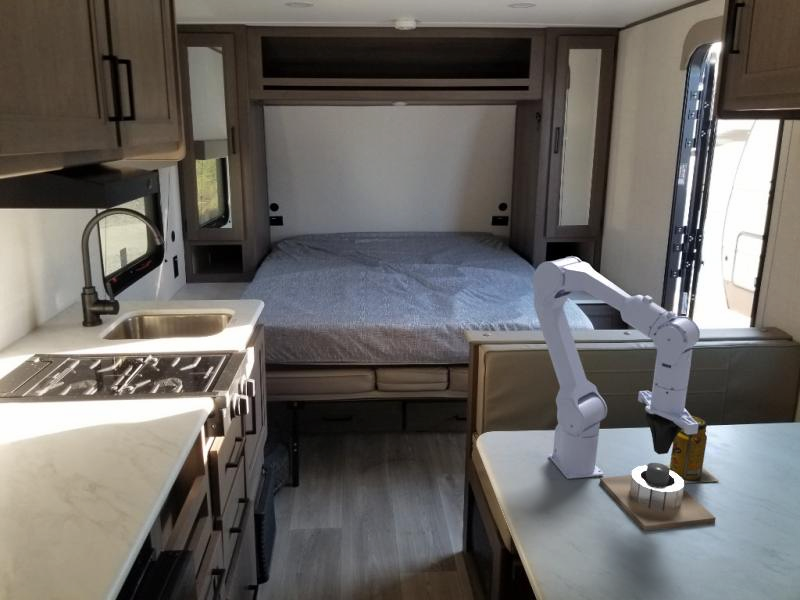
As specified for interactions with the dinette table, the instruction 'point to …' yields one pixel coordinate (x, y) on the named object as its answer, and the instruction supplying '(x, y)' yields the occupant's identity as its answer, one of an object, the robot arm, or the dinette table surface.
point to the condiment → (690, 455)
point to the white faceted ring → (656, 491)
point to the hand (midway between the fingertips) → (661, 452)
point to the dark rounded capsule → (657, 474)
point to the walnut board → (652, 518)
